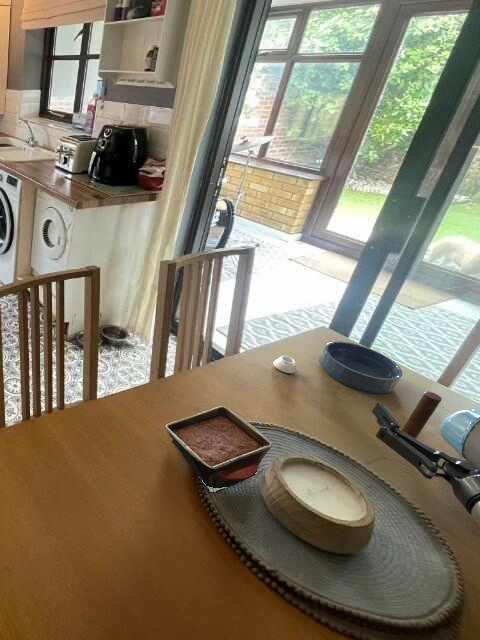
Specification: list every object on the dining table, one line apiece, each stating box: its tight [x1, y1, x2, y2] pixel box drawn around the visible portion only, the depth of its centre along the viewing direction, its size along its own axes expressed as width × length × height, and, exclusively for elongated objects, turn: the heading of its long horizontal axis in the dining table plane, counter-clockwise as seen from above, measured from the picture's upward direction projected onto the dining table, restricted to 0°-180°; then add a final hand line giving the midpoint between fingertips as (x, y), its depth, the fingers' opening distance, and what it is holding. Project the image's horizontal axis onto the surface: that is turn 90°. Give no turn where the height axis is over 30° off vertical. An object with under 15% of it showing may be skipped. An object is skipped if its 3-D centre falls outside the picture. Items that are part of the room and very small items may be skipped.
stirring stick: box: [400, 391, 443, 439], centre depth 86 cm, size 2×2×14 cm
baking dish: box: [164, 405, 273, 488], centre depth 83 cm, size 14×18×10 cm
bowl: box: [318, 341, 403, 394], centre depth 107 cm, size 15×15×5 cm
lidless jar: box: [272, 355, 297, 374], centre depth 110 cm, size 5×3×5 cm
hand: (415, 414), depth 86 cm, fingers open, 13 cm apart
